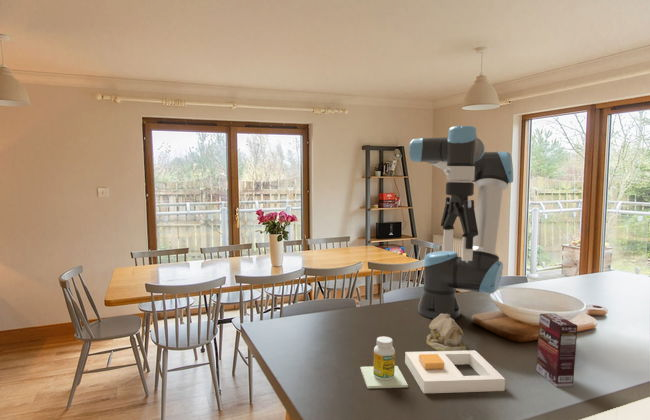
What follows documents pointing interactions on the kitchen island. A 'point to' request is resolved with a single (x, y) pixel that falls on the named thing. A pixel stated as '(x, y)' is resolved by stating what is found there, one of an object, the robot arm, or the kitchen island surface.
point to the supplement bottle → (384, 359)
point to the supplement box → (556, 349)
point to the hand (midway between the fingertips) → (456, 255)
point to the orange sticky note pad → (431, 361)
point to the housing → (455, 373)
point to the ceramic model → (445, 334)
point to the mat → (373, 382)
